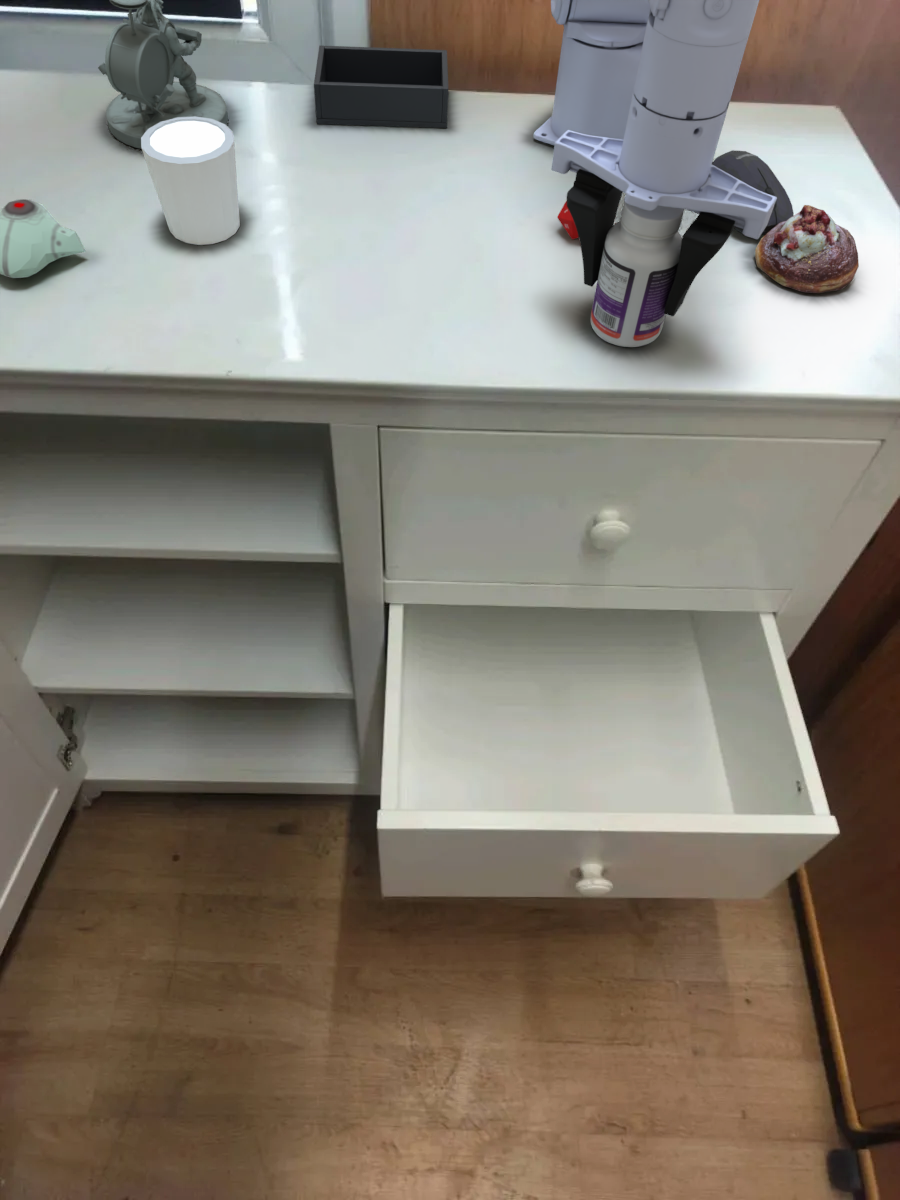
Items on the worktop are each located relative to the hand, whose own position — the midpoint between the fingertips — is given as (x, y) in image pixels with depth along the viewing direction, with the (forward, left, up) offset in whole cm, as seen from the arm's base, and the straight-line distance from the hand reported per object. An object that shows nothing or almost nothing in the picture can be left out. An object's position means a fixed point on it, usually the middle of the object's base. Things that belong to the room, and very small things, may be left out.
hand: (632, 293), depth 64 cm
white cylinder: (+34, +7, -3) cm, 35 cm away
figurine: (+47, -4, -3) cm, 47 cm away
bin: (+33, -18, -3) cm, 37 cm away
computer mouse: (-2, -20, -3) cm, 20 cm away
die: (+8, -9, -3) cm, 13 cm away
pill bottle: (0, 0, -3) cm, 3 cm away
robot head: (+40, +21, -1) cm, 46 cm away
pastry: (-9, -15, -3) cm, 18 cm away
